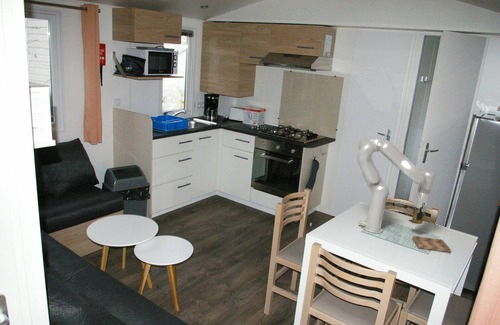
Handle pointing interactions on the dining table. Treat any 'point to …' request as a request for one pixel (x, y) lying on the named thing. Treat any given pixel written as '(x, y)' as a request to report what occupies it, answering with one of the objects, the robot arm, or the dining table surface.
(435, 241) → the serving tray
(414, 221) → the condiment
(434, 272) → the dining table surface
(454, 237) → the dining table surface
